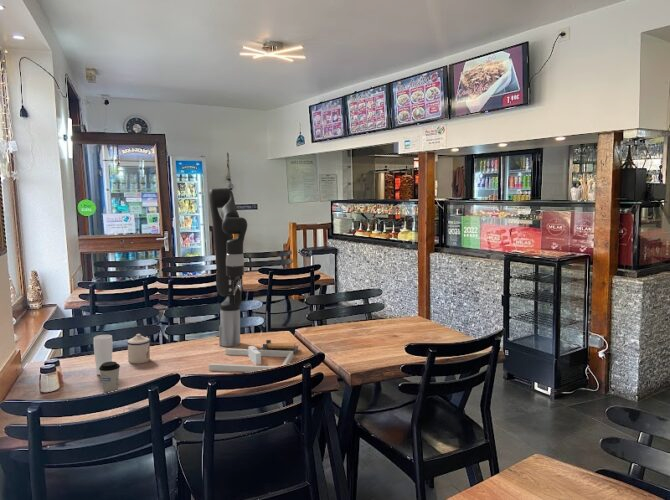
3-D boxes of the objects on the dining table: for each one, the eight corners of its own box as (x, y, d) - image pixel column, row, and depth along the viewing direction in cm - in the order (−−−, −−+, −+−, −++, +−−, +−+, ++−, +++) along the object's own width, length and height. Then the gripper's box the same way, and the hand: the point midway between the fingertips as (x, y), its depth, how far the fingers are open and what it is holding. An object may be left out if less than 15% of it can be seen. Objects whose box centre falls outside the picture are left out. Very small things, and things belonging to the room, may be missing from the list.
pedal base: (260, 353, 221) (260, 344, 221) (264, 348, 229) (264, 339, 229) (295, 354, 219) (295, 345, 219) (298, 349, 227) (298, 340, 227)
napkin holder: (263, 367, 203) (263, 354, 203) (237, 366, 205) (237, 352, 204) (272, 356, 218) (272, 344, 218) (247, 355, 220) (247, 342, 219)
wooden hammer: (264, 348, 222) (264, 345, 222) (266, 345, 227) (266, 342, 227) (293, 348, 221) (293, 345, 221) (295, 345, 226) (295, 342, 226)
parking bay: (209, 370, 197) (208, 364, 197) (226, 353, 220) (226, 348, 219) (283, 373, 195) (283, 367, 194) (293, 356, 217) (293, 351, 216)
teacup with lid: (152, 362, 207) (151, 335, 206) (129, 365, 202) (128, 338, 201) (147, 354, 217) (147, 329, 216) (125, 357, 213) (125, 331, 212)
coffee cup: (114, 385, 180) (113, 359, 179) (124, 389, 176) (123, 363, 175) (95, 391, 175) (94, 364, 174) (106, 395, 171) (105, 368, 170)
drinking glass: (98, 370, 196) (97, 334, 194) (116, 370, 196) (114, 334, 195) (91, 376, 189) (90, 339, 187) (109, 376, 189) (108, 339, 188)
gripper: (231, 262, 213) (231, 298, 215) (220, 266, 199) (221, 304, 201) (248, 262, 212) (248, 298, 214) (238, 266, 198) (238, 305, 200)
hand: (235, 301), depth 207 cm, fingers open, 8 cm apart
